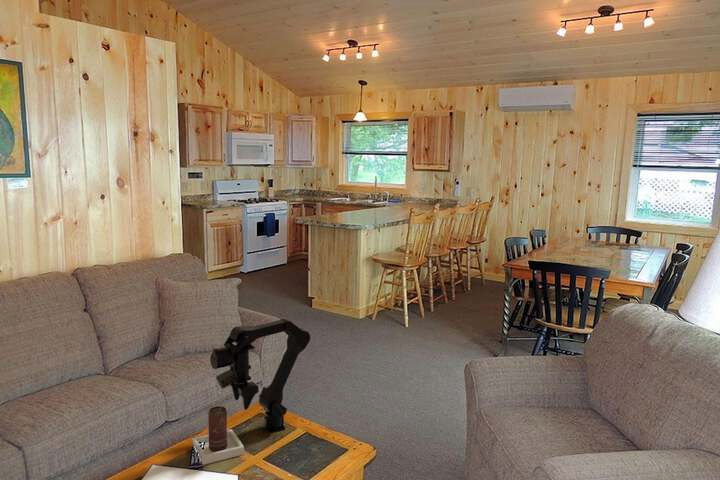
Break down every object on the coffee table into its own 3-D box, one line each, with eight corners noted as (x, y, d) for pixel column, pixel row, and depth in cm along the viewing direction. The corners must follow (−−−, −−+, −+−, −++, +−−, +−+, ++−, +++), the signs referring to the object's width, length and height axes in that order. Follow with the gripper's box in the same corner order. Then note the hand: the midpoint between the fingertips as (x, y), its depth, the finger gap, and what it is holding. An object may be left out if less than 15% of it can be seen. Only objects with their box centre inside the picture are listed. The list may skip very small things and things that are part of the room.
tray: (231, 436, 191) (231, 429, 190) (244, 454, 179) (244, 446, 178) (192, 445, 184) (192, 438, 183) (202, 465, 172) (202, 457, 171)
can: (230, 443, 184) (229, 405, 182) (223, 453, 178) (222, 413, 176) (213, 442, 185) (212, 404, 183) (206, 451, 178) (205, 412, 177)
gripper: (210, 358, 189) (210, 400, 191) (227, 375, 173) (228, 420, 175) (239, 353, 195) (240, 393, 197) (259, 369, 180) (259, 412, 181)
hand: (241, 404), depth 187 cm, fingers open, 9 cm apart
